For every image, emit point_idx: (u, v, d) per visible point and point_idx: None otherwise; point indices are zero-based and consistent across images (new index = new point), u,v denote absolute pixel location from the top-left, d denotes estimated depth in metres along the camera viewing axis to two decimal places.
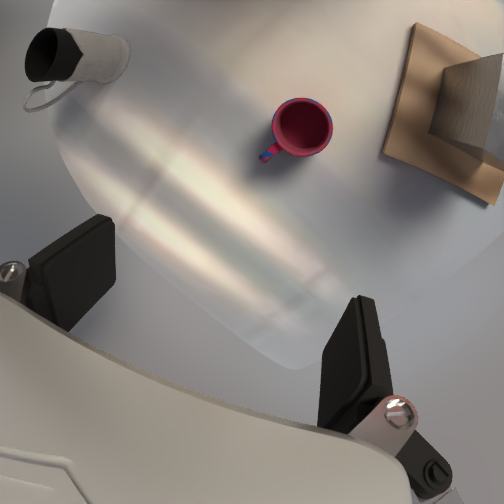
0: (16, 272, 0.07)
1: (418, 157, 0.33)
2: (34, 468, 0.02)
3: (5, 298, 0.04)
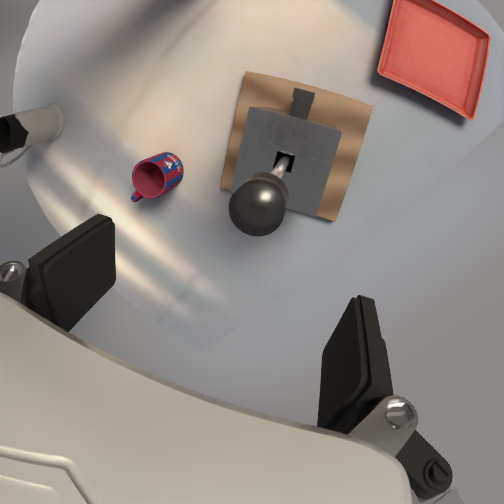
0: (16, 272, 0.07)
1: None
2: (34, 468, 0.02)
3: (5, 298, 0.04)
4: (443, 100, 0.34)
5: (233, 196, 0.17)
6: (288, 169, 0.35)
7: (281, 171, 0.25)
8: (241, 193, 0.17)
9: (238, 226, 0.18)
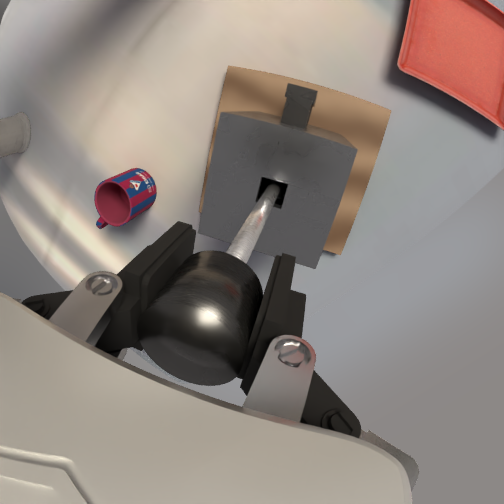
0: (109, 287, 0.07)
1: None
2: (34, 468, 0.02)
3: (5, 298, 0.04)
4: (475, 105, 0.25)
5: (141, 320, 0.08)
6: (280, 197, 0.26)
7: (262, 218, 0.16)
8: (153, 317, 0.08)
9: (161, 366, 0.08)
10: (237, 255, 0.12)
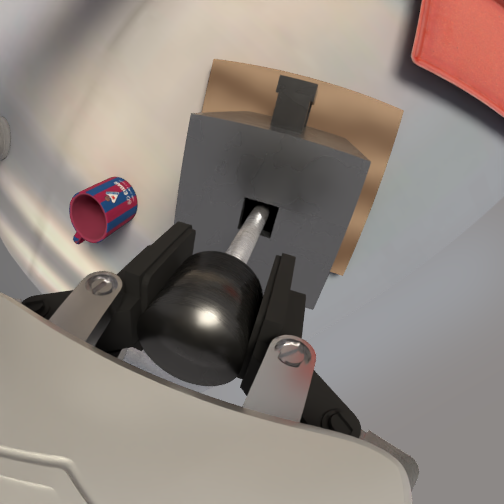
0: (109, 287, 0.07)
1: None
2: (34, 468, 0.02)
3: (5, 298, 0.04)
4: (496, 107, 0.20)
5: (141, 321, 0.08)
6: None
7: (262, 218, 0.16)
8: (153, 318, 0.07)
9: (161, 366, 0.08)
10: (237, 255, 0.12)
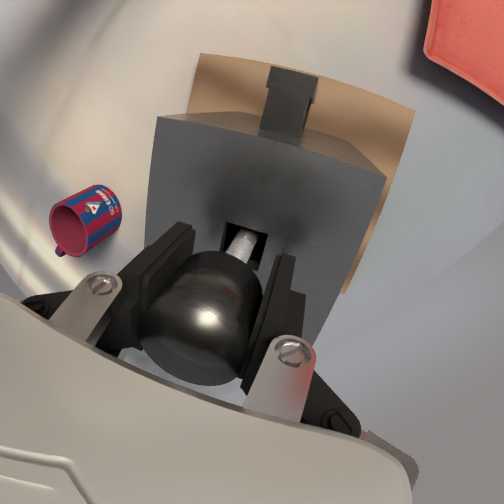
0: (109, 287, 0.07)
1: None
2: (34, 468, 0.02)
3: (5, 298, 0.04)
4: None
5: (141, 321, 0.08)
6: None
7: None
8: (153, 318, 0.08)
9: (161, 366, 0.08)
10: (237, 255, 0.12)
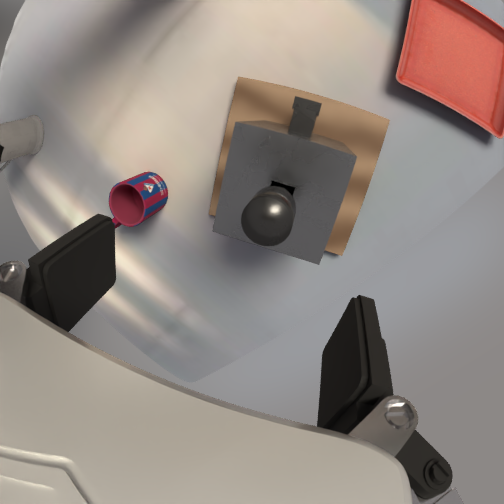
0: (16, 272, 0.07)
1: None
2: (34, 468, 0.02)
3: (5, 298, 0.04)
4: (469, 114, 0.28)
5: (245, 208, 0.18)
6: None
7: None
8: (252, 206, 0.18)
9: (249, 237, 0.19)
10: None
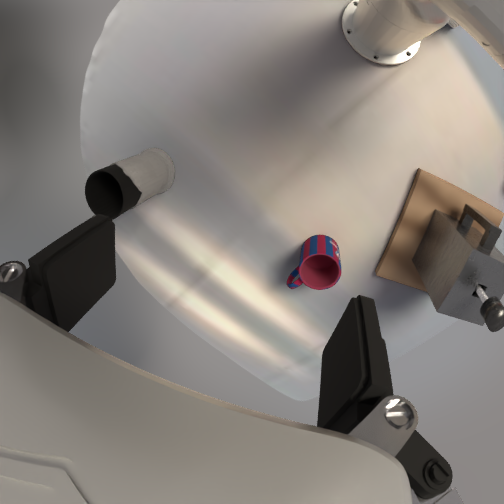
0: (16, 272, 0.07)
1: (401, 276, 0.48)
2: (34, 468, 0.02)
3: (5, 298, 0.04)
4: None
5: (494, 316, 0.25)
6: None
7: None
8: (497, 314, 0.24)
9: (489, 328, 0.25)
10: (486, 295, 0.29)
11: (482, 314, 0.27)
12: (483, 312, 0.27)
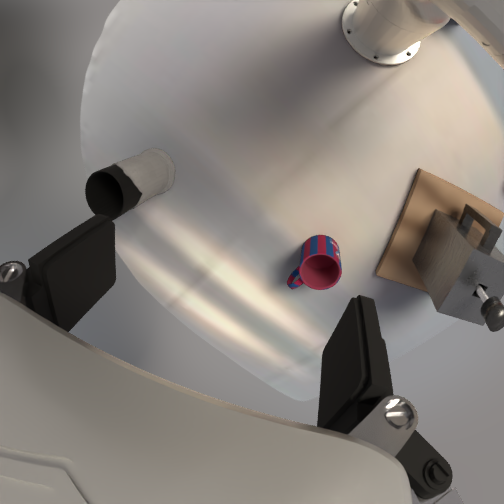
0: (16, 272, 0.07)
1: (402, 276, 0.48)
2: (34, 468, 0.02)
3: (5, 298, 0.04)
4: None
5: (494, 316, 0.25)
6: None
7: None
8: (497, 314, 0.24)
9: (489, 328, 0.25)
10: None
11: (482, 314, 0.27)
12: (483, 312, 0.27)
